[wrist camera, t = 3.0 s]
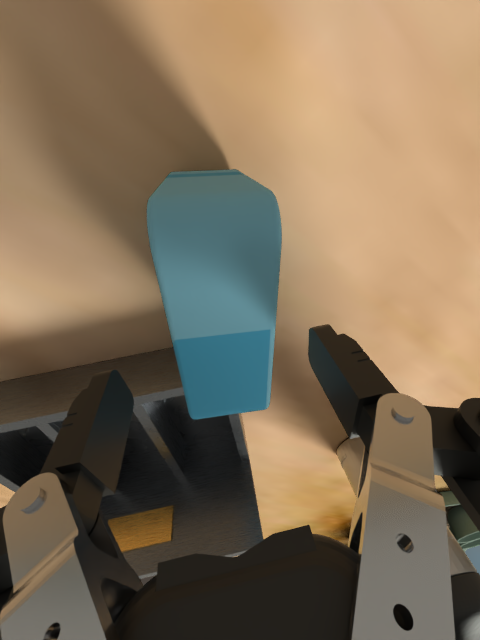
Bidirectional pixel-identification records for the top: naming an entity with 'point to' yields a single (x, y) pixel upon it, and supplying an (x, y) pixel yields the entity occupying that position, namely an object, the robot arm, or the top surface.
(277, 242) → the blue flat rounded slab
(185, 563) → the robot arm
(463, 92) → the top surface
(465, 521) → the tea set
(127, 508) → the rack
